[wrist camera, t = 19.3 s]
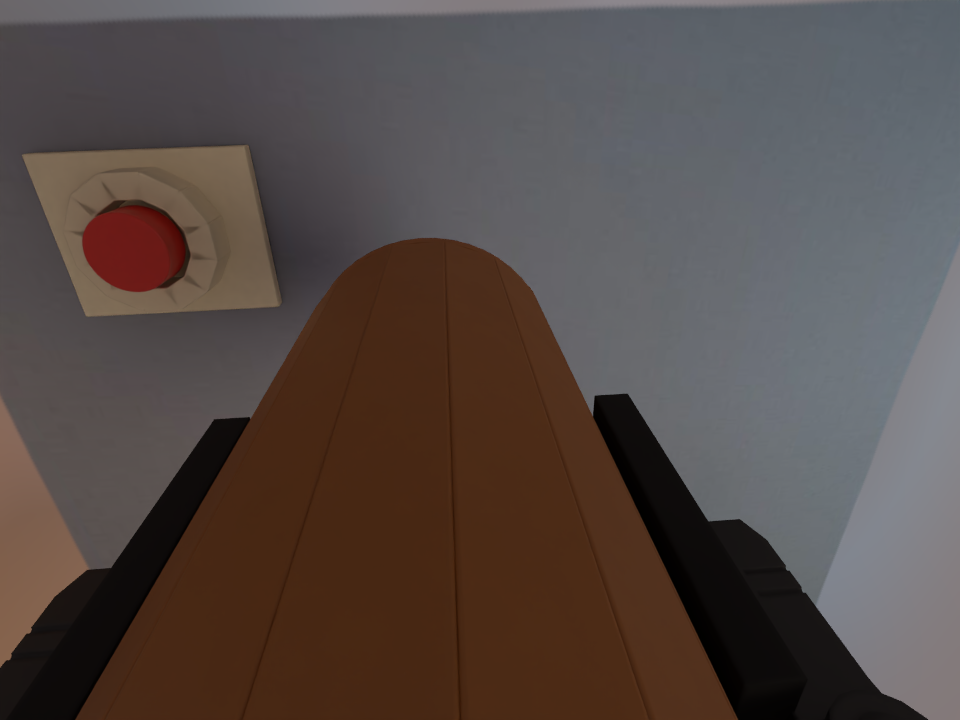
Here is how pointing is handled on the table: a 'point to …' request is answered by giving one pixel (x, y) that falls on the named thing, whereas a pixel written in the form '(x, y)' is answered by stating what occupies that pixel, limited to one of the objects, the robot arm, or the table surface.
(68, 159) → the cream button plate
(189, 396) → the table surface
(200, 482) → the robot arm
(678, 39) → the table surface
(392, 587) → the brown bottle
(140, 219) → the power button
